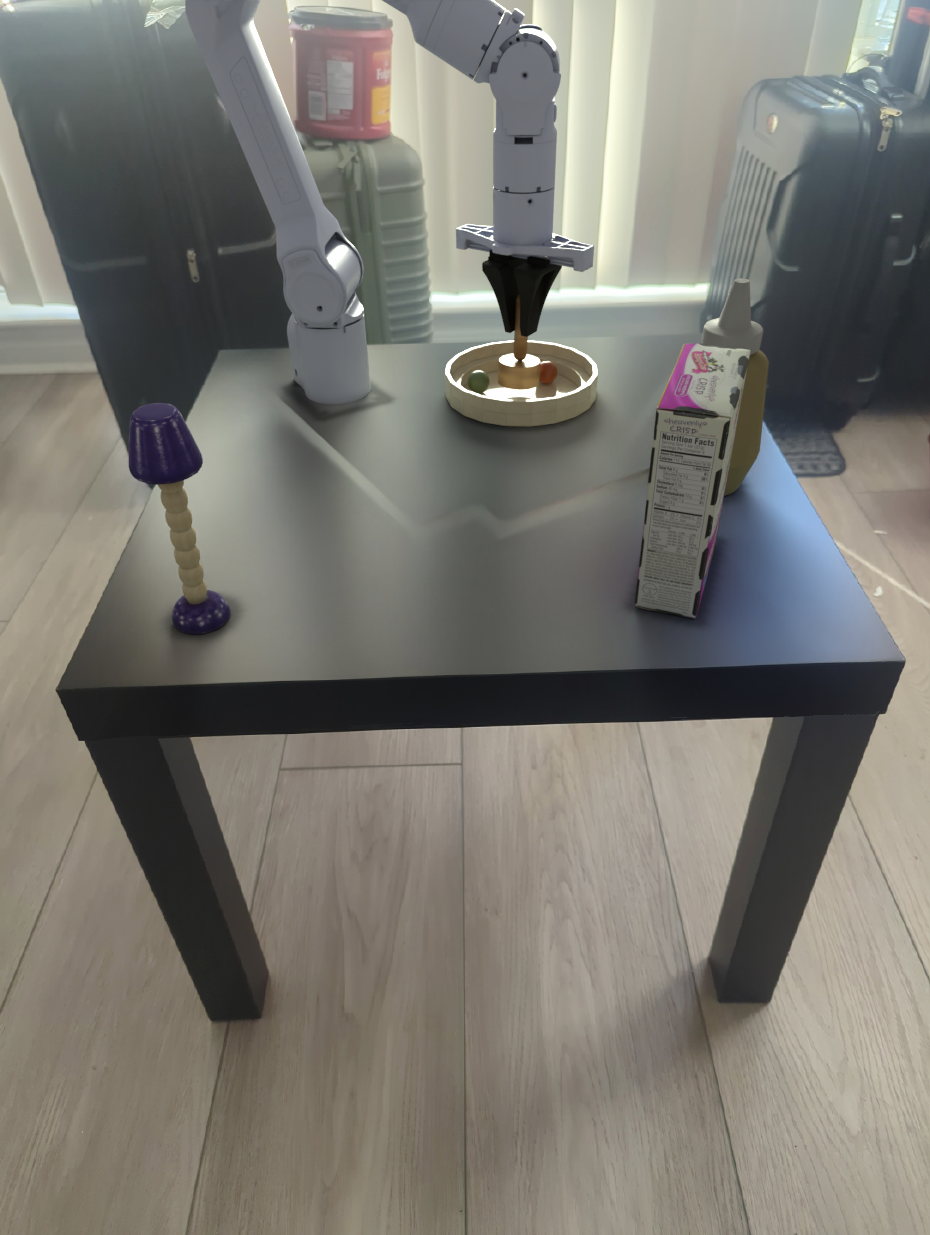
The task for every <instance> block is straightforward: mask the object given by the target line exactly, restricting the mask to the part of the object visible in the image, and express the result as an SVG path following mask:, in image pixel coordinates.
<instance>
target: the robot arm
mask: <svg viewBox="0 0 930 1235" xmlns="http://www.w3.org/2000/svg"><path fill="white" fill-rule="evenodd" d="M381 1H382V2H384V3H385V4H387V5H389V6H390V7H392V8H393V9H395V10H396V11H399V12H400V13H401V14H403V15H405V16H406V18H407V20H408V22H409V25H410V28H411V32H412V37H413V40H414V42H415V43H416V44H418V45H419V46H420V47H422V48H424V49H425V50H427V51H428V52H430V53H431V54H433V55H434V56H435V57H437V58H439V59H440V60H442V61H443V62H445V63H446V64H448V65H449V66H450V67H453V69H455V70H457V71H459V72H460V73H462V74H463V75H464V76H466V77H467V78H469V79H470V80H473V82H475V83H477V84H483V83H486V84H489V87H490V90H491V93H492V96H493V98H494V99H495V128H494V130H493V132H492V225H479V224H472V223H471V224H470V223H466V224H464V225H461V226H459V227H456V228H455V246H456V249H458V250H464V251H465V250H468V249H469V250H470V249H471V250H476V251H480V252H486V253H489V254H488V255H489V256H487V260H484V261H483V262H481V268H482V269H481V270H482V272H483V274H484V276H485V277H486V279H487V280H488V282H489V285H490V287H491V289H492V291H493V293H494V296H495V298H496V301H497V304H498V308H499V311H500V316H501V320H502V324H503V329H504V332H505V333H508V334H511V333H513V332H515V313H516V298H517V296H518V295H519V299H520V332H521V336H525V337H528V338H529V337H530V336H532V335H533V334H535V333H537V332H538V328H539V323H540V319H541V315H542V312H543V309H544V305H545V302H546V300H547V298H548V295H549V293H550V290H551V289H552V286H553V284H554V282H555V280H556V278H557V277H558V275H559V273H560V272H561V270H562V268H563V267H567V268H573V271H575V272H579V273H584V272H585V271H588V270H589V269H591V268H593V266H594V254H595V245H593V244H587V243H583V242H581V241H577V240H574V239H571V238H569V237H565V236H562V235H559V234H556V233H555V232H554V213H555V212H554V211H555V210H554V209H555V188H556V187H555V186H556V168H557V167H556V165H557V141H558V130H557V128H556V125H555V123H556V121H557V115H558V114H557V113H558V108H557V104H556V95H557V93H558V92H559V88H560V85H561V81H562V80H561V79H562V74H561V73H560V71H561V70H560V69H561V61H560V54H559V50H558V48H557V46H556V44H555V42H554V41H553V38H551V37H550V36H549V35H548V34H547V33H546V32H545V31H544V29H543V28H542V27H541V26H540V25H537V24H531V23H527V24H522V22H524V19H525V13H524V12H522V11H521V10H520V9H518V8H514V9H513V10H512V12H511V11H510V10H508V9H506V8H505V7H503V6H502V5H501V4H499V3H498V2H497V1H495V0H381ZM260 3H261V0H184V10H185V15H186V18H187V22H188V25H189V28H190V30H191V32H192V35H193V37H194V39H195V41H196V44H197V47H198V49H199V51H200V53H201V56H202V58H203V60H204V63H205V65H206V67H207V70H208V73H209V74H210V77H211V79H212V82H213V84H214V86H215V89H216V91H217V93H218V96H219V98H220V100H221V102H222V105H223V107H224V110H225V112H226V114H227V117H228V119H229V122H230V124H231V127H232V129H233V131H234V133H235V135H236V138H237V140H238V143H239V146H240V147H241V149H242V153H243V155H244V157H245V159H246V161H247V164H248V166H249V168H250V172H251V173H252V176H253V178H254V180H255V183H256V185H257V187H258V190H259V193H260V195H261V197H262V199H263V202H264V204H265V206H266V209H267V211H268V213H269V216H270V218H271V221H272V223H273V225H274V227H275V238H276V243H275V244H276V245H275V246H276V247H275V248H276V260H277V262H278V264H279V267H280V270H281V273H282V277H283V278H282V279H283V286H282V287H283V289H282V291H283V292H282V293H283V298H284V301H285V303H286V306H287V308H288V310H289V311H290V312H291V315H290V316H289V319H288V321H287V326H286V336H287V342H288V343H287V344H288V349H289V356H290V363H291V367H292V368H291V369H292V374H293V381H295V383H297V384H298V385H299V386H300V387H301V388H302V389H303V390H304V394H305V397H307V399H309V400H310V401H312V402H315V403H319V404H323V405H342V404H349V403H354V402H357V401H359V400H361V399H364V398H365V397H366V396H368V395H369V394H370V392H371V391H372V382H371V373H370V362H369V352H368V343H367V342H368V340H367V330H366V321H365V320H366V319H365V311H364V310H365V309H364V306H363V304H362V303H361V301H360V299H359V298H358V296H357V290H358V288H359V287H360V286H361V284H362V281H363V280H364V279H363V278H364V273H365V272H364V271H365V270H364V269H365V268H364V261H363V258H362V257H361V256H362V255H361V254H360V252H359V251H358V249H357V248H356V246H354V244H352V243H351V242H350V241H349V239H348V238H347V237H346V236H345V234H344V233H343V231H342V229H341V226H340V223H339V221H338V219H337V218H336V217H335V215H334V214H333V213H331V212H330V211H329V209H328V208H327V207H326V206H325V204H324V201H323V198H322V195H321V194H320V191H319V189H318V185H317V183H316V181H315V178H314V176H313V174H312V170H311V168H310V165H309V162H308V160H307V158H306V155H305V153H304V152H305V151H304V150H303V147H302V144H301V142H300V140H299V137H298V134H297V131H296V129H295V127H294V124H293V122H292V118H291V117H290V114H289V111H288V108H287V106H286V103H285V101H284V98H283V96H282V92H281V90H280V87H279V85H278V83H277V80H276V78H275V75H274V72H273V68H272V67H271V64H270V62H269V60H268V56H267V54H266V52H265V49H264V46H263V44H262V41H261V38H260V36H259V34H258V33H259V32H258V30H257V29H256V26H255V22H254V20H255V16H256V14H257V11H258V8H259V6H260Z"/></svg>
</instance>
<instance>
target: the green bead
mask: <svg viewBox="0 0 930 1235" xmlns="http://www.w3.org/2000/svg"><path fill="white" fill-rule="evenodd" d="M467 383H468V387H469V389H470V390H471V391H472V392H474V393H483V392H485V391H486V390H487V389H488V387H489V384H490V379H489V377H488V375H487V374H486V373H485V372H484V371H481V370H476V371H474V372H472V373H471V374H470V375H469V377H468V380H467Z"/></svg>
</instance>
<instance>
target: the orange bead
mask: <svg viewBox="0 0 930 1235" xmlns="http://www.w3.org/2000/svg"><path fill="white" fill-rule="evenodd" d="M557 373H558V371H557V367H556V365H555V364H554V363H552V362H550V361H543V362H541V365H540V379H539V381H540V382H541V383H544V384H549V383H551V382H553V381H554V380H555V379H556V377H557Z"/></svg>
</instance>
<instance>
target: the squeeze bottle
mask: <svg viewBox="0 0 930 1235" xmlns="http://www.w3.org/2000/svg"><path fill="white" fill-rule="evenodd" d="M751 307H752V306H751V281H750V279H748V278H744V277H738V278H735V279H734V280H733V283H732V285H731V287H730V290H729V293H728V295H727V298H726V300H725V303H724V306H723V307H722V310H721V313H720V315H719V317H716V318H713V319H712V318H711V319H709V320H707V322H706V323H705V324H704V326H703V331H702V336H701V341H700V342H701V343H700V344H704V345H705V346H709V345H713V346H723V347H728V348H737V349H747V350H750V356H749V362H748V366H747V371H746V377H745V382H744V388H743V393H742V398H741V404H740V409H739V416H738V421H737V427H736V432H735V437H734V443H733V448H732V454H731V460H730V465H729V470H728V476H727V481H726V487H725V493H724V497H726V496H729V495H731V494H733V493H734V492H736V491H738V490H739V488H740V487H741V484H742V483H743V481H744V480H745V478H746V476H747V474H748V473H749V472H750V470H751V468H752V467H753V465H754V463H755V462H756V460H757V459H758V457H759V454H760V451H761V444H762V432H763V424H764V423H763V422H764V416H765V415H764V414H765V405H766V404H765V403H766V393H767V385H768V374H769V367H770V366H769V365H770V361H769V359H768V357H767V356H766V354H765V353H764V352H763V351H762V350H760V349H761V344H762V340H763V334H764V328H763V326H762V325H761V324H760V323H758V322H756V321H754V320H752V309H751Z"/></svg>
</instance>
